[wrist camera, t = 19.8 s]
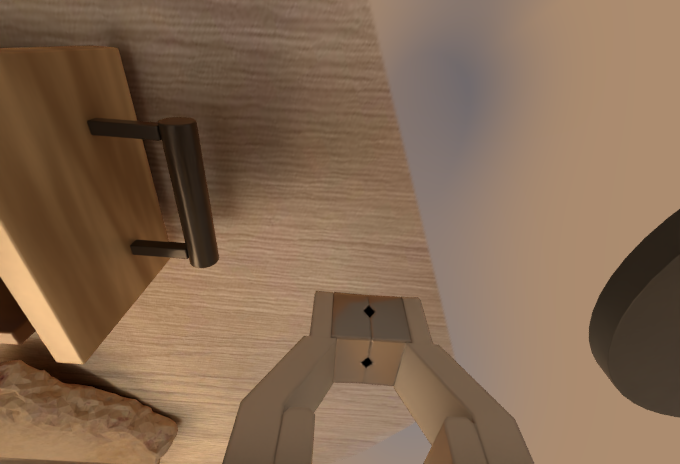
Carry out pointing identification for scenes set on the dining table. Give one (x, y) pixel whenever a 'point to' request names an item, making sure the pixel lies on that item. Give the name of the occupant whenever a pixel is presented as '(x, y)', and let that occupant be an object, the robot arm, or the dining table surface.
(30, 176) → the drawer
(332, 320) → the robot arm
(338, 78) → the dining table surface
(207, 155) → the dining table surface
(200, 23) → the dining table surface
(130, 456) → the tablet
